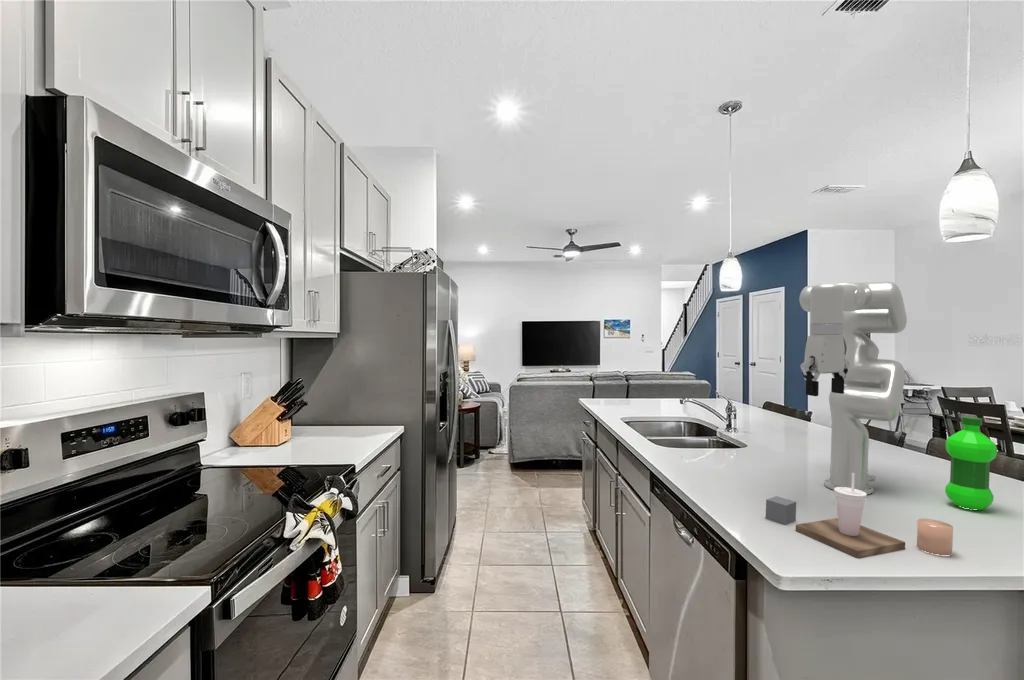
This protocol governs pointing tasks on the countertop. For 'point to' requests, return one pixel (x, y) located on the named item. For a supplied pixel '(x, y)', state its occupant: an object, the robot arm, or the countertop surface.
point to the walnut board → (850, 538)
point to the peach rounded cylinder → (934, 536)
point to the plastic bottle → (970, 466)
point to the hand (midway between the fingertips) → (824, 394)
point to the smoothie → (849, 508)
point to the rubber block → (781, 510)
